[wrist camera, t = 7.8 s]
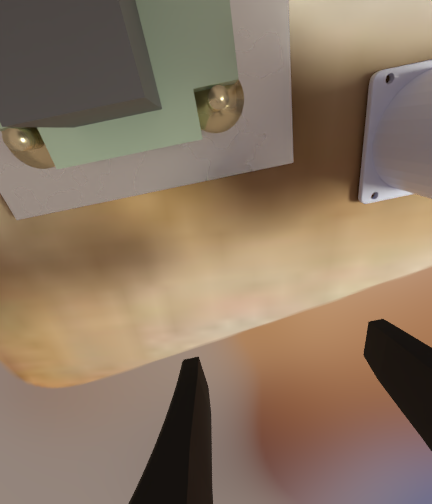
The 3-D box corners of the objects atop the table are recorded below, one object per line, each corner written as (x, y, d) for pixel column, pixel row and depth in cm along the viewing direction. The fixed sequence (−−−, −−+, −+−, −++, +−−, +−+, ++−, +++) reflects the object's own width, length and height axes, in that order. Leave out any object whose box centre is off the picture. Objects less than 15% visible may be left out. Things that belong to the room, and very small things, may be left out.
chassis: (273, -203, 10) (331, -436, 6) (287, 160, 16) (319, 171, 12) (-164, -111, 10) (-410, -277, 6) (26, 215, 16) (-28, 243, 12)
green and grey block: (209, -116, 9) (236, -461, 4) (239, 130, 12) (273, 131, 7) (-90, -53, 9) (-485, -308, 4) (30, 173, 12) (-81, 205, 7)
